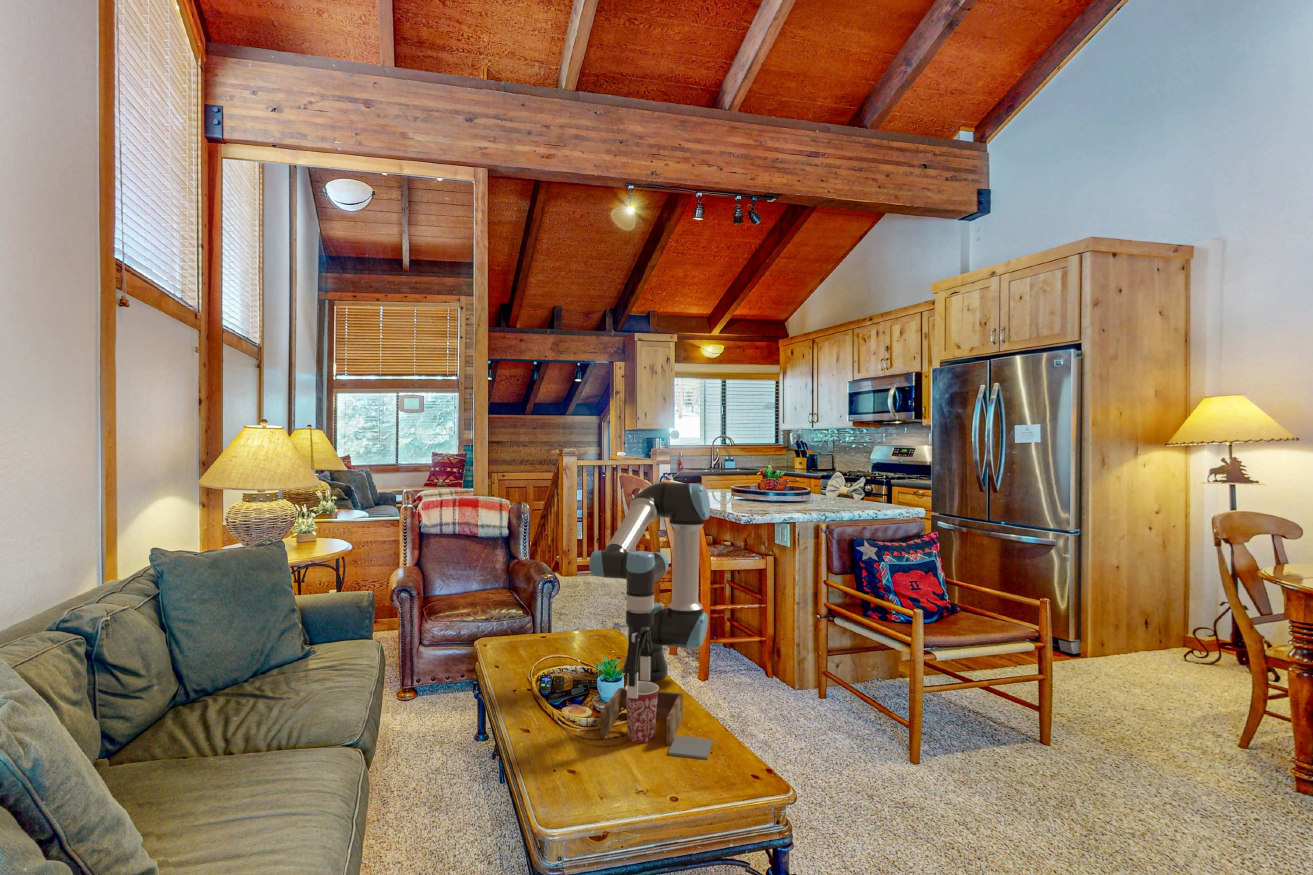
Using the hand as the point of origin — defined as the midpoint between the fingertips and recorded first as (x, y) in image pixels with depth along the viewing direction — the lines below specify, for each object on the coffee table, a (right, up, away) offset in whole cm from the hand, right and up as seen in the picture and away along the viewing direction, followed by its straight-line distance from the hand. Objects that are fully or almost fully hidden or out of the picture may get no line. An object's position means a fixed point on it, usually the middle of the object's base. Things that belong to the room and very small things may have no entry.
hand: (639, 688), depth 184 cm
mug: (0, -13, 0) cm, 13 cm away
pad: (+14, -13, -7) cm, 20 cm away
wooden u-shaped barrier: (+1, -13, +5) cm, 13 cm away
